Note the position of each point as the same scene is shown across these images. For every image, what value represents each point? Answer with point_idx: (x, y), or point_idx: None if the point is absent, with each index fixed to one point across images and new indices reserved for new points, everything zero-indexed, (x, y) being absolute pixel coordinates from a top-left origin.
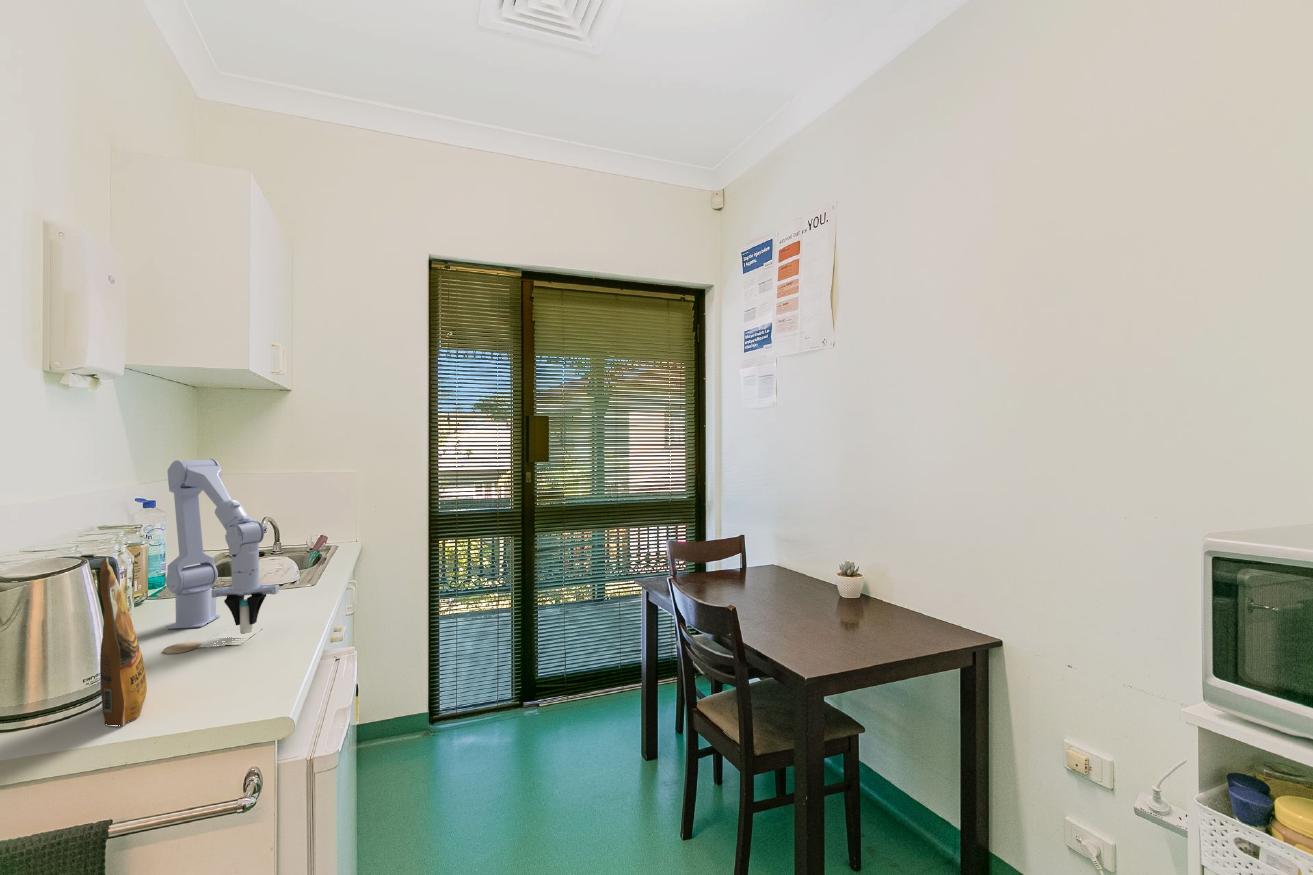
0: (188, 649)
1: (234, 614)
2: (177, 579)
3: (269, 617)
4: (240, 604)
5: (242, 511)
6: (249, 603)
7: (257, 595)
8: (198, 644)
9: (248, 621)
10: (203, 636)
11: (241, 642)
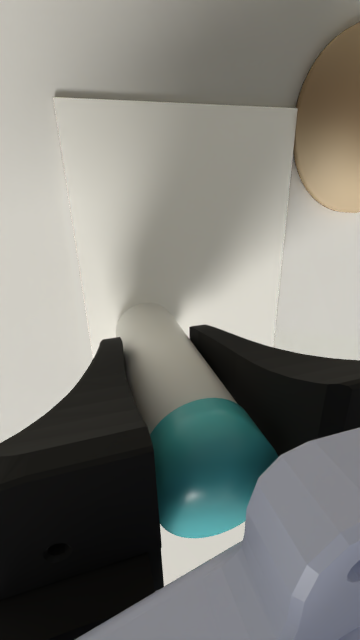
0: (331, 48)
1: (242, 344)
2: None
3: (167, 531)
4: (239, 415)
5: None
6: (117, 414)
7: (46, 597)
8: (309, 149)
9: (132, 347)
10: (327, 312)
11: (69, 147)
